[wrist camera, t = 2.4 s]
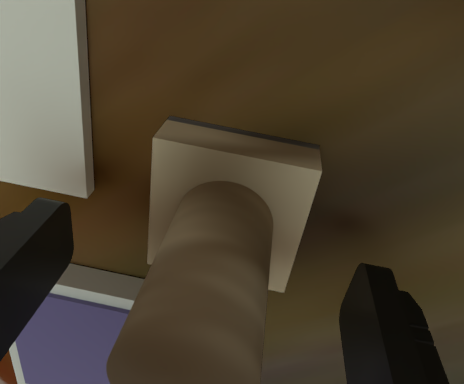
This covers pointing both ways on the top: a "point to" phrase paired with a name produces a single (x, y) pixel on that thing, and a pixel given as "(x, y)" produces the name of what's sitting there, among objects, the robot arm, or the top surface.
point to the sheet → (45, 96)
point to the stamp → (214, 253)
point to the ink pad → (75, 328)
